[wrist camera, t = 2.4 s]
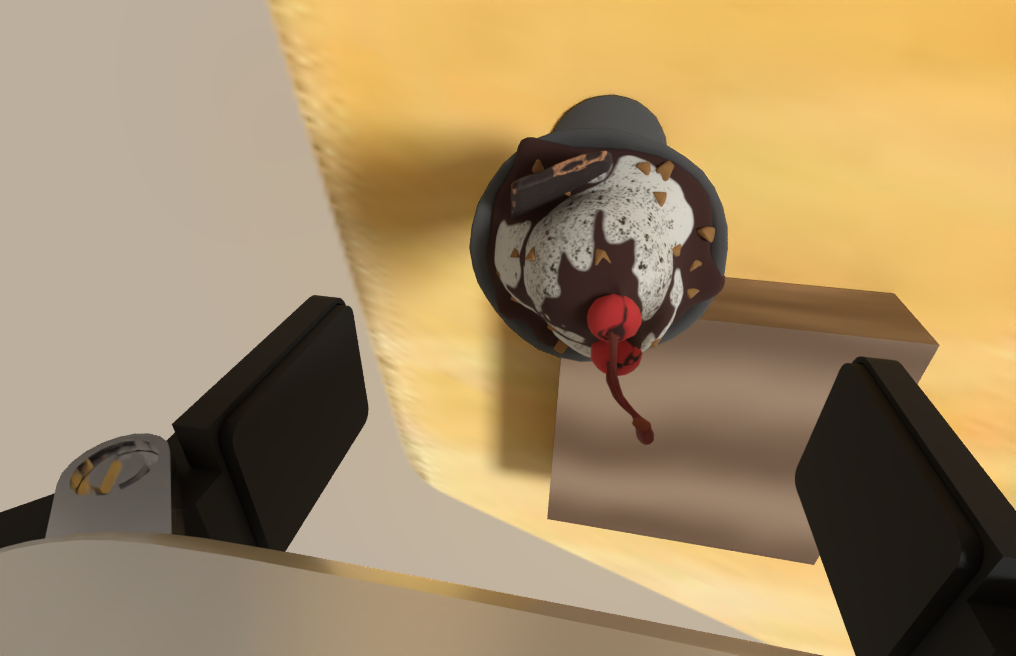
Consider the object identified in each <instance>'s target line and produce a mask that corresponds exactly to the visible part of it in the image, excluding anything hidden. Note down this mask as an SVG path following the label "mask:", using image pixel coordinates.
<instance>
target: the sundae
mask: <svg viewBox="0 0 1016 656" xmlns="http://www.w3.org/2000/svg"><path fill="white" fill-rule="evenodd" d="M469 249H470V254H471V260H472V265H473V270H474V273H475V276H476V279H477V282H478V284H479V286H480V287H481V289H482V291H483V293H484V294H485V296H486V298H487V299H488V301H489V302H490V303H491V305H492V306H493V308H494V309H495V311H496V312H497V313H498V314H499V316H500V317H501V318H502V319H503V321H504V322H505V323H506V324H507V325H508V326H509V327H510V328H511V329H512V330H513V331H514V332H515V333H517V334H518V335H519V336H520V337H521V338H523V339H524V340H525V341H527V342H528V343H530V344H531V345H533V346H534V347H535V348H537V349H538V350H541V351H543V352H546V353H549V354H551V355H554V356H557V357H560V358H564V359H569V360H574V361H578V362H589V361H592V362H593V363H594V365H595V366H596V367H597V368H598V369H599V370H600V371H601V372H603V373H605V374H606V382H607V384H608V386H609V389H610V391H611V393H612V396H613V398H614V399H615V400H616V401H617V403H618V404H619V405H620V406H621V407H622V408H623V409H624V410H625V411H626V412H627V413H629V414H630V415H631V416H632V418H633V422H632V424H633V426H634V427H635V428H636V436H637V439H638V440H639V441H640V442H641V443H642V444H644V445H650V444H651V443H652V442H653V440H654V433H653V430H652V427H651V423H650V422H648V421H647V420H645V419H644V418H643V417H642V416H640V415H639V414H638V413H637V412H636V411H635V410H634V409H633V407H632V406H631V405H630V404H629V402H628V401H627V400H626V398H625V397H624V396H623V393H622V390H621V387H620V384H619V379H618V376H622V375H627V374H629V373H631V372H632V371H634V370H635V369H636V368H637V367H638V366H639V364H640V361H641V358H642V352H643V351H645V350H647V349H650V348H655V347H656V346H657V345H660V344H662V343H664V342H667V341H669V340H671V339H673V338H674V337H676V336H678V335H679V334H681V333H682V332H684V331H685V330H687V329H688V328H689V327H690V326H691V325H692V324H693V323H695V322H696V321H697V320H698V319H699V318H700V317H701V316H703V314H704V313H705V311H706V310H707V308H708V306H709V305H710V303H711V302H712V300H713V299H714V297H715V296H716V295H717V294H719V293H720V292H721V290H722V289H723V287H724V284H725V276H724V273H725V265H726V258H727V250H728V227H727V223H726V218H725V214H724V210H723V206H722V203H721V201H720V199H719V196H718V194H717V192H716V190H715V187H714V186H713V185H712V183H711V182H710V180H709V179H708V178H707V176H706V175H705V174H704V172H703V171H702V170H701V169H700V168H699V167H697V166H696V165H695V164H694V163H692V162H691V161H690V160H689V159H687V158H686V157H685V156H683V155H682V154H680V153H678V152H677V151H675V150H674V149H672V148H670V147H669V146H667V145H666V137H665V135H664V132H663V129H662V127H661V125H660V123H659V122H658V120H657V118H656V116H655V115H654V114H653V113H651V112H650V111H649V110H648V109H647V108H646V107H645V106H643V105H642V104H641V103H639V102H638V101H636V100H633V99H630V98H627V97H623V96H618V95H604V96H598V97H593V98H589V99H587V100H585V101H583V102H581V103H580V104H578V105H576V106H575V107H574V108H572V109H571V110H569V111H568V112H567V113H566V114H565V116H564V117H563V118H562V119H561V120H560V122H559V123H558V125H557V126H556V128H555V130H554V131H553V133H550V134H547V135H544V136H542V137H539V138H534V137H527V138H525V139H523V140H521V142H520V144H519V146H518V149H517V152H516V153H515V154H513V155H512V156H511V157H510V158H509V159H508V160H507V161H506V162H505V163H504V164H503V165H502V166H501V167H500V169H499V170H498V172H497V173H496V174H495V176H494V177H493V179H492V180H491V181H490V183H489V185H488V187H487V188H486V190H485V192H484V194H483V195H482V197H481V199H480V201H479V203H478V205H477V209H476V213H475V216H474V220H473V224H472V229H471V238H470V247H469Z"/></svg>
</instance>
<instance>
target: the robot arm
mask: <svg viewBox="0 0 1016 656" xmlns="http://www.w3.org/2000/svg"><path fill="white" fill-rule="evenodd" d="M367 416H368V401H367V395H366V389H365V383H364V376H363V370H362V364H361V358H360V352H359V346H358V340H357V334H356V327H355V321H354V315H353V311H352V309H351V307H350V306H346V305H345V303H344V301H343V300H342V299H341V298H335V297H327V296H317V295H313V296H311V297H310V298H309V299H307V300H306V301H305V302H304V303H303V304H302V305H301V306H300V307H299V308H298V309H296V311H294V312H293V313H292V314H291V315H290V316H289V317H288V318H287V319H286V320H285V321H283V322H282V323H281V324H280V325H279V326H278V327H277V328H276V329H275V330H274V331H273V332H272V333H270V334H269V335H268V336H267V337H266V338H265V339H264V340H263V341H262V342H261V343H260V344H258V345H257V346H256V347H255V348H254V349H253V350H252V351H251V352H250V353H249V354H248V355H247V356H245V357H244V358H243V359H242V360H241V361H240V362H239V363H238V364H237V365H236V366H235V367H233V368H232V369H231V370H230V371H229V372H228V373H227V374H226V375H225V376H224V377H223V378H221V379H220V380H219V381H218V382H217V383H216V384H215V385H214V386H213V387H212V388H211V389H210V390H208V391H207V392H206V393H205V394H204V395H203V396H202V397H201V398H200V399H199V400H198V401H196V402H195V403H194V404H193V406H191V407H190V408H189V409H188V410H187V411H186V412H185V413H184V414H183V415H182V416H180V417H179V418H178V419H177V420H176V421H175V422H174V423H173V424H172V426H173V428H174V430H175V433H174V434H173V435H172V436H171V437H170V438H169V439H168V440H167V441H165V440H164V439H163V438H161V437H160V436H157V435H153V434H131V435H127V436H121V437H117V438H115V439H112V440H109V441H106V442H104V443H101V444H99V445H97V446H96V447H93V448H92V449H90V450H88V451H86V452H85V453H83V454H82V455H81V456H79V457H78V458H77V459H75V460H74V461H73V462H72V463H71V464H70V465H69V466H68V467H67V468H66V469H65V470H64V471H63V472H62V474H61V476H60V479H59V481H58V483H57V486H56V490H55V493H54V494H52V495H49V496H46V497H43V498H41V499H37V500H34V501H32V502H29V503H26V504H23V505H20V506H17V507H15V508H12V509H9V510H6V511H3V512H0V656H822V655H817V654H812V653H807V652H802V651H797V650H792V649H787V648H782V647H777V646H772V645H767V644H762V643H757V642H751V641H747V640H741V639H737V638H731V637H726V636H721V635H716V634H711V633H706V632H701V631H696V630H691V629H686V628H681V627H676V626H671V625H665V624H661V623H656V622H651V621H646V620H641V619H635V618H631V617H625V616H620V615H615V614H609V613H605V612H600V611H594V610H589V609H584V608H579V607H574V606H569V605H563V604H558V603H553V602H548V601H543V600H538V599H532V598H527V597H522V596H516V595H512V594H506V593H501V592H496V591H491V590H486V589H481V588H476V587H470V586H465V585H459V584H454V583H449V582H444V581H439V580H434V579H428V578H423V577H418V576H412V575H407V574H401V573H396V572H391V571H386V570H380V569H375V568H369V567H364V566H359V565H354V564H348V563H343V562H337V561H332V560H327V559H322V558H316V557H311V556H305V555H300V554H295V553H289V552H285V551H286V550H287V548H288V546H289V545H290V543H291V542H292V540H293V538H294V537H295V535H296V534H297V532H298V530H299V529H300V527H301V526H302V524H303V522H304V521H305V519H306V518H307V516H308V514H309V513H310V511H311V510H312V508H313V506H314V505H315V503H316V501H317V500H318V498H319V497H320V495H321V493H322V492H323V490H324V489H325V487H326V485H327V484H328V482H329V481H330V479H331V477H332V475H333V474H334V472H335V471H336V469H337V468H338V466H339V465H340V463H341V461H342V460H343V458H344V457H345V455H346V453H347V452H348V450H349V448H350V447H351V445H352V444H353V442H354V440H355V439H356V437H357V436H358V434H359V432H360V431H361V429H362V428H363V426H364V424H365V422H366V420H367ZM795 486H796V490H797V493H798V495H799V498H800V501H801V504H802V507H803V509H804V512H805V515H806V518H807V521H808V523H809V526H810V529H811V532H812V535H813V537H814V540H815V543H816V546H817V549H818V551H819V554H820V557H821V560H822V563H823V565H824V568H825V571H826V574H827V577H828V579H829V582H830V585H831V588H832V591H833V593H834V596H835V599H836V602H837V605H838V607H839V610H840V613H841V616H842V619H843V621H844V624H845V627H846V630H847V633H848V635H849V638H850V641H851V644H852V647H853V649H854V652H855V655H856V656H1016V511H1015V509H1014V508H1013V507H1012V505H1011V504H1010V503H1009V502H1008V500H1007V499H1006V498H1005V496H1004V495H1003V494H1002V493H1001V491H1000V490H999V489H998V487H997V486H996V485H995V484H994V482H993V481H992V480H991V478H990V477H989V476H988V475H987V473H986V472H985V471H984V469H983V468H982V467H981V466H980V464H979V463H978V462H977V460H976V459H975V458H974V457H973V455H972V454H971V453H970V451H969V450H968V449H967V448H966V446H965V445H964V444H963V442H962V441H961V440H960V439H959V437H958V436H957V435H956V433H955V432H954V431H953V430H952V428H951V427H950V426H949V424H948V423H947V422H946V421H945V419H944V418H943V417H942V415H941V414H940V413H939V412H938V410H937V409H936V408H935V406H934V405H933V404H932V403H931V401H930V400H929V399H928V397H927V396H926V395H925V394H924V392H923V391H922V390H921V388H920V387H919V386H918V385H917V383H916V382H915V381H914V379H913V378H912V377H911V376H910V374H909V373H908V372H907V370H906V369H905V368H904V367H903V365H902V364H901V363H900V362H899V361H896V360H890V359H881V358H872V357H863V356H860V357H857V358H856V359H855V360H854V361H853V362H852V363H845V364H844V365H842V367H841V368H840V370H839V372H838V375H837V377H836V379H835V381H834V384H833V386H832V388H831V391H830V393H829V395H828V397H827V400H826V402H825V404H824V407H823V409H822V411H821V413H820V416H819V418H818V420H817V423H816V425H815V427H814V429H813V432H812V434H811V436H810V438H809V441H808V443H807V445H806V448H805V450H804V452H803V454H802V457H801V459H800V461H799V464H798V466H797V468H796V472H795Z"/></svg>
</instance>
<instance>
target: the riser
mask: <svg viewBox="0 0 1016 656" xmlns="http://www.w3.org/2000/svg"><path fill="white" fill-rule="evenodd" d="M938 347H939V344H938V343H937V342H936V341H935V339H934V338H933V337H932V336H931V335H930V334H929V333H928V331H927V330H926V329H925V328H924V327H923V326H922V325H921V323H920V322H919V321H918V320H917V319H916V318H915V317H914V315H913V314H912V313H911V312H910V311H909V310H908V309H907V307H906V306H905V305H904V304H903V303H902V302H901V301H900V299H899V298H898V297H897V296H896V295H895V294H893V293H882V292H872V291H861V290H851V289H840V288H830V287H819V286H809V285H799V284H788V283H778V282H767V281H757V280H746V279H736V278H725V284H724V287H723V289H722V290H721V292H720V293H719V294H717V295H716V296H715V297H714V299H713V300H712V302H711V303H710V305H709V306H708V308H707V310H706V311H705V313H704V314H703V316H701V317H700V318H699V319H698V320H697V321H696V322H695V323H693V324H692V325H691V326H690V327H689V328H688V329H687V330H685V331H684V332H682V333H681V334H679V335H678V336H676V337H674V338H673V339H671V340H669V341H667V342H664V343H662V344H660V345H657V346H656V347H655V348H650V349H647V350H645V351H643V352H642V358H641V361H640V364H639V366H638V367H637V368H636V369H635V370H634V371H632V372H631V373H629V374H627V375H622V376H618V379H619V384H620V387H621V390H622V393H623V396H624V397H625V398H626V400H627V401H628V402H629V404H630V405H631V406H632V407H633V409H634V410H635V411H636V412H637V413H638V414H639V415H640V416H642V417H643V418H644V419H645V420H647V421H648V422H650V423H651V427H652V430H653V433H654V440H653V442H652V443H651V444H650V445H644V444H642V443H641V442H640V441H639V440H638V439H637V436H636V428H635V427H634V426H633V424H632V422H633V418H632V416H631V415H630V414H629V413H627V412H626V411H625V410H624V409H623V408H622V407H621V406H620V405H619V404H618V403H617V401H616V400H615V399H614V398H613V396H612V393H611V391H610V389H609V386H608V384H607V382H606V374H605V373H603V372H601V371H600V370H599V369H598V368H597V367H596V366H595V365H594V363H593V362H592V361H589V362H578V361H574V360H569V359H564V358H561V365H560V376H559V388H558V400H557V412H556V423H555V435H554V447H553V459H552V471H551V482H550V494H549V506H548V518H547V519H551V520H556V521H562V522H568V523H574V524H580V525H585V526H591V527H597V528H603V529H609V530H614V531H620V532H626V533H632V534H638V535H643V536H649V537H655V538H661V539H667V540H672V541H678V542H684V543H690V544H696V545H702V546H707V547H713V548H719V549H725V550H731V551H736V552H742V553H748V554H754V555H760V556H765V557H771V558H777V559H783V560H789V561H794V562H800V563H806V564H812V565H814V564H815V562H816V561H817V559H818V557H819V555H820V554H819V551H818V549H817V546H816V543H815V540H814V537H813V535H812V532H811V529H810V526H809V523H808V521H807V518H806V515H805V512H804V509H803V507H802V504H801V501H800V498H799V495H798V493H797V490H796V486H795V472H796V468H797V466H798V464H799V461H800V459H801V457H802V454H803V452H804V450H805V448H806V445H807V443H808V441H809V438H810V436H811V434H812V432H813V429H814V427H815V425H816V423H817V420H818V418H819V416H820V413H821V411H822V409H823V407H824V404H825V402H826V400H827V397H828V395H829V393H830V391H831V388H832V386H833V384H834V381H835V379H836V377H837V375H838V372H839V370H840V368H841V367H842V365H844V364H845V363H852V362H853V361H854V360H855V359H856V358H857V357H860V356H863V357H872V358H881V359H890V360H896V361H899V362H900V363H901V364H902V365H903V367H904V368H905V369H906V370H907V372H908V373H909V374H910V376H911V377H912V378H913V379H914V381H915V382H916V383H917V384H918V382H919V380H920V379H921V377H922V375H923V373H924V372H925V370H926V368H927V366H928V365H929V363H930V361H931V359H932V358H933V356H934V354H935V352H936V351H937V349H938Z"/></svg>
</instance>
